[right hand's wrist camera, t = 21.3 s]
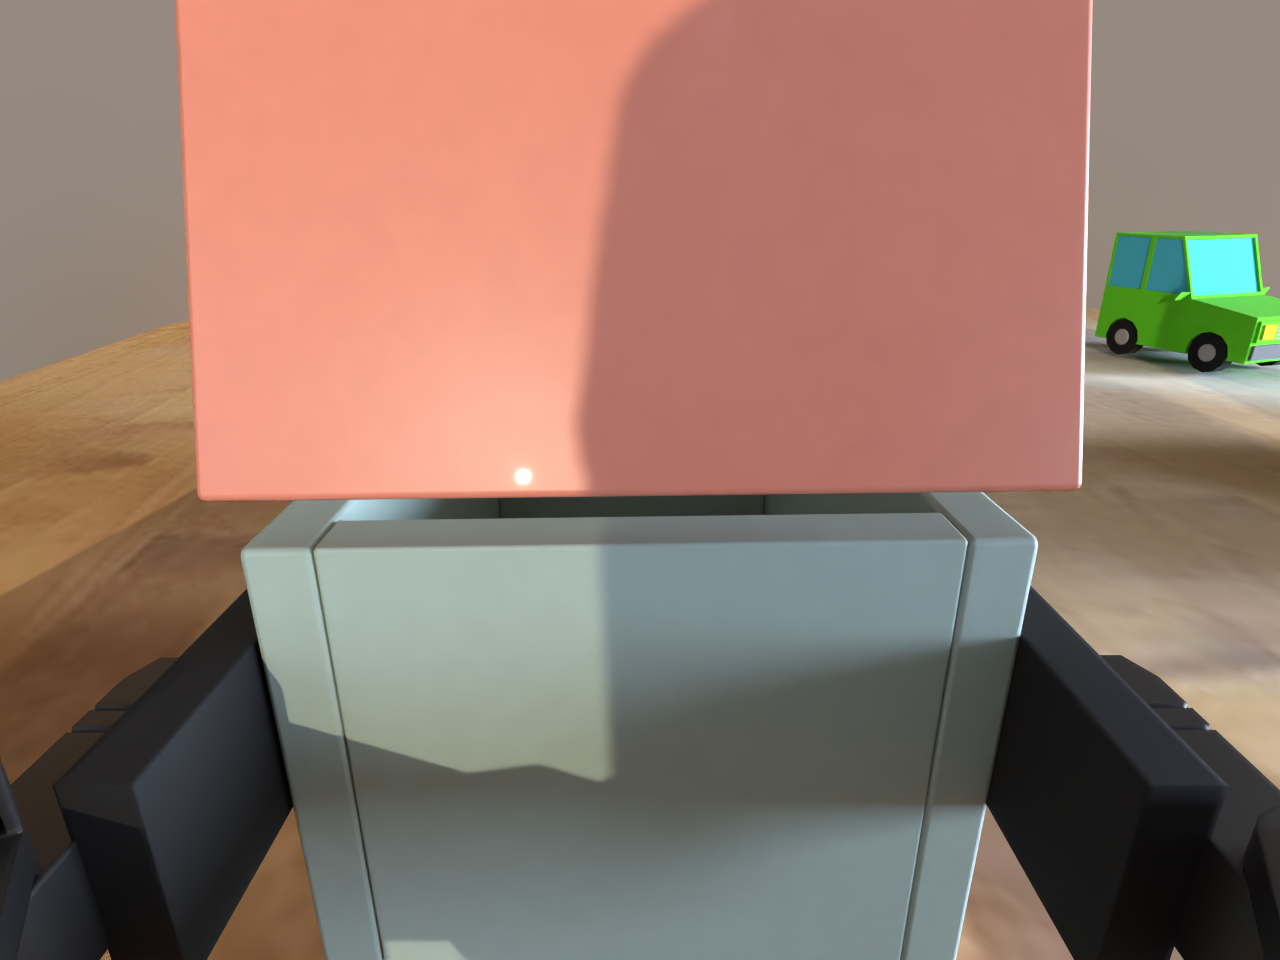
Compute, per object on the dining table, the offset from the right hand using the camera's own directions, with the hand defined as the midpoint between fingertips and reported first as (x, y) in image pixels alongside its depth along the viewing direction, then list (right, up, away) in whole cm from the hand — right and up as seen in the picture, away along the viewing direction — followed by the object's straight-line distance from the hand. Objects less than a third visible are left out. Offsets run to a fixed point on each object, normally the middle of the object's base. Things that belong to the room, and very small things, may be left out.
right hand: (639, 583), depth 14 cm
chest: (0, -6, +5) cm, 7 cm away
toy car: (+47, +12, +51) cm, 70 cm away
